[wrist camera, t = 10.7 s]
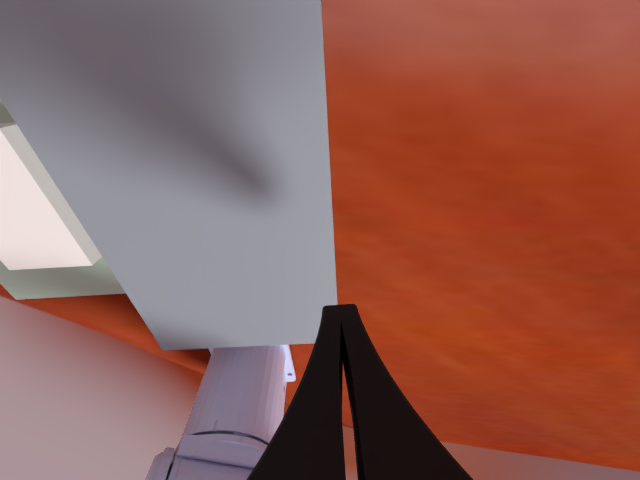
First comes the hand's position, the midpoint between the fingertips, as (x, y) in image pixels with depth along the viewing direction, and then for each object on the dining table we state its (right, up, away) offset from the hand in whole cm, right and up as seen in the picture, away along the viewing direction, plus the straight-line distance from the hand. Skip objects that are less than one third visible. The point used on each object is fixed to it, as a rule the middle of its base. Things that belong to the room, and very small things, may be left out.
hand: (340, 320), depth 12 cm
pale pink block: (-20, +5, +5) cm, 21 cm away
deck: (-7, +7, +6) cm, 12 cm away
